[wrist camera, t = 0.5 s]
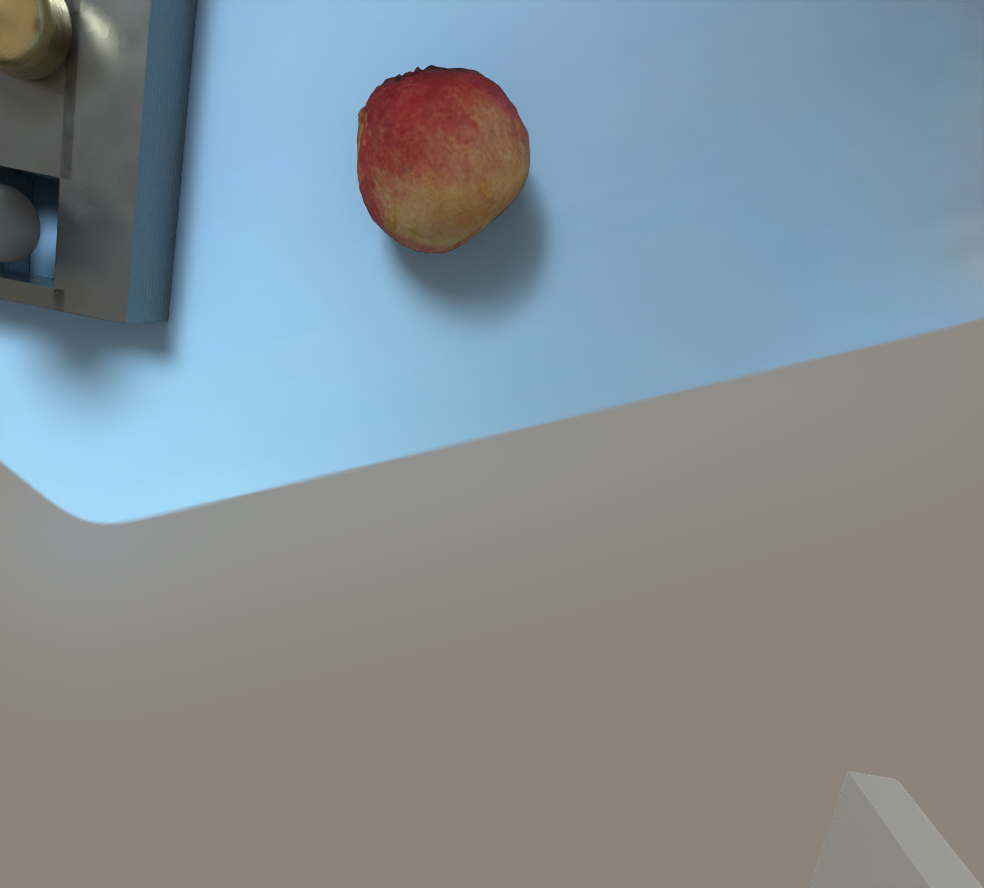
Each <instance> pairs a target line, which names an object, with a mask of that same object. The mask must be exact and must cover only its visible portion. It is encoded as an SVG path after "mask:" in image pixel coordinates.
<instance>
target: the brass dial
mask: <svg viewBox="0 0 984 888" xmlns="http://www.w3.org/2000/svg"><path fill="white" fill-rule="evenodd" d="M71 40H72V24H71V18H70V14H69V11H68V8H67V6H66V3H65V1H64V0H0V72H2V73H5V74H7V75H9V76H12V77H14V78H18V79H23V80H35V79H40V78H43V77H46V76H48V75H50V74H51V73H53V72H54V71H56V70H57V69H58V68H59V67H60V66H61V64H62V63H63V62H64V60H65V58H66V56H67V54H68V52H69V49H70V45H71Z"/></svg>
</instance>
